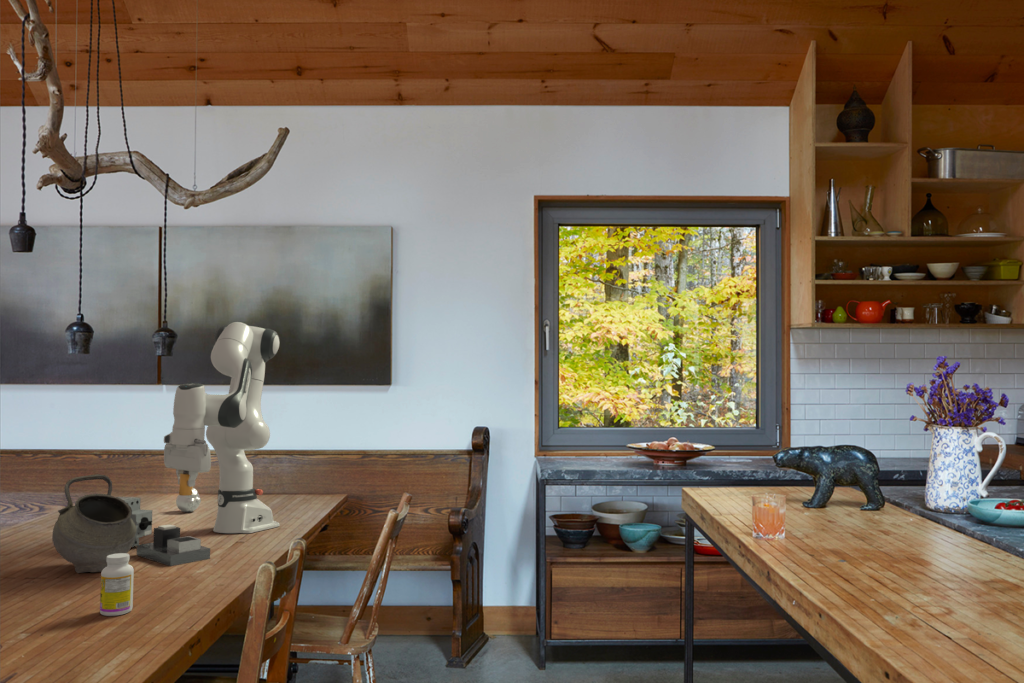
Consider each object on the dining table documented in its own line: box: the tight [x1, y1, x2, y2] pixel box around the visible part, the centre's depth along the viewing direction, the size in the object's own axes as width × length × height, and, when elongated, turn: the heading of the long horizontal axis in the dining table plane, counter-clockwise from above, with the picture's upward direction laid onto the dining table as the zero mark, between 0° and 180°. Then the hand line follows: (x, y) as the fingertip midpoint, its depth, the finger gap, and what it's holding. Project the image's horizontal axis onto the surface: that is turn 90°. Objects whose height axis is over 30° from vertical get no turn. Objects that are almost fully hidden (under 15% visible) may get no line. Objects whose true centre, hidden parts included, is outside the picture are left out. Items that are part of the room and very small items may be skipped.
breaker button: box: [157, 524, 177, 530], centre depth 228 cm, size 4×4×5 cm
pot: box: [51, 473, 136, 574], centre depth 213 cm, size 21×21×25 cm
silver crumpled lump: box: [175, 487, 202, 513], centre depth 299 cm, size 9×10×10 cm
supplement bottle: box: [99, 552, 135, 617], centre depth 173 cm, size 7×7×13 cm
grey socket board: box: [136, 526, 211, 567], centre depth 226 cm, size 12×20×8 cm, turn 52°
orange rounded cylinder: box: [178, 470, 194, 496], centre depth 223 cm, size 4×4×7 cm
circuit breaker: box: [117, 496, 153, 548], centre depth 237 cm, size 8×14×15 cm, turn 78°
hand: (186, 485), depth 223 cm, fingers closed on orange rounded cylinder, 4 cm apart
